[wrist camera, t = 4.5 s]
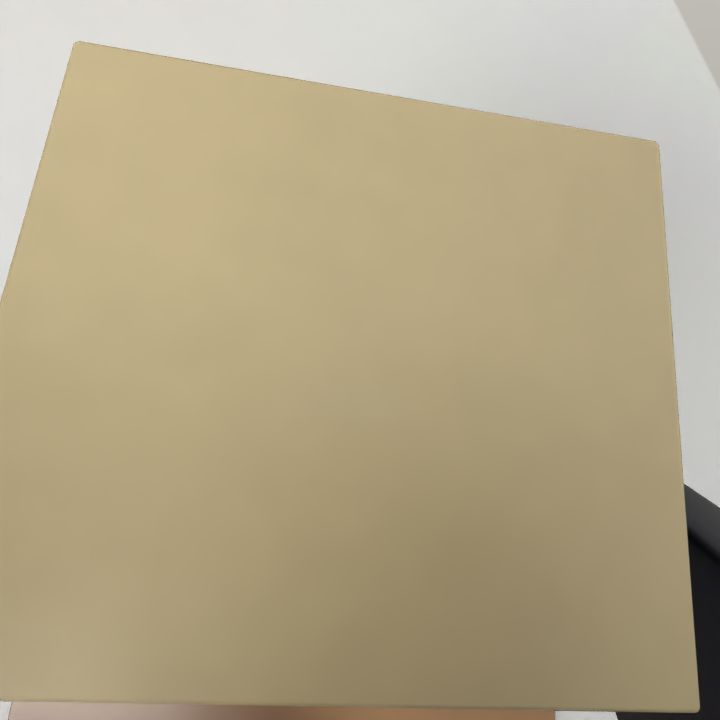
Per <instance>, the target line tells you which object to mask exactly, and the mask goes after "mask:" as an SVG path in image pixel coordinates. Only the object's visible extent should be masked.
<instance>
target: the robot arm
mask: <svg viewBox="0 0 720 720" xmlns="http://www.w3.org/2000/svg"><path fill="white" fill-rule="evenodd" d="M684 496H685V510H686V523H687V537H688V551H689V565H690V578H691V592H692V606H693V619H694V633H695V647H696V661H697V674H698V688H699V702H700V709H699V711H698V712H697V713H665V712H616V715H617V718H618V720H720V508H719V507H718V506H716V505H715V504H713V503H712V502H710V501H709V500H707V499H706V498H704V497H703V496H701V495H700V494H698V493H697V492H695V491H694V490H693V489H691V488H690V487H688V486H687V485H685V484H684Z"/></svg>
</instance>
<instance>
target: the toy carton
mask: <svg viewBox="0 0 720 720" xmlns="http://www.w3.org/2000/svg"><path fill="white" fill-rule="evenodd" d="M0 701H25V702H83V703H142V704H200V705H258V706H316V707H374V708H432V709H490V710H549V711H607V712H665V713H697V712H698V711H699V709H700V702H699V688H698V674H697V661H696V647H695V633H694V619H693V606H692V592H691V578H690V565H689V551H688V537H687V523H686V510H685V496H684V482H683V468H682V455H681V441H680V427H679V414H678V400H677V386H676V372H675V359H674V345H673V331H672V318H671V304H670V290H669V276H668V263H667V249H666V235H665V222H664V208H663V194H662V180H661V167H660V153H659V145H658V143H657V142H655V141H650V140H644V139H639V138H633V137H627V136H621V135H616V134H610V133H604V132H598V131H593V130H587V129H581V128H575V127H570V126H564V125H558V124H552V123H547V122H541V121H535V120H529V119H524V118H518V117H512V116H506V115H501V114H495V113H489V112H483V111H478V110H472V109H466V108H460V107H455V106H449V105H443V104H437V103H432V102H426V101H420V100H414V99H409V98H403V97H397V96H391V95H386V94H380V93H374V92H368V91H363V90H357V89H351V88H345V87H340V86H334V85H328V84H322V83H317V82H311V81H305V80H299V79H294V78H288V77H282V76H276V75H270V74H265V73H259V72H253V71H247V70H242V69H236V68H230V67H224V66H219V65H213V64H207V63H201V62H196V61H190V60H184V59H178V58H173V57H167V56H161V55H155V54H150V53H144V52H138V51H132V50H127V49H121V48H115V47H109V46H104V45H98V44H92V43H86V42H81V41H78V42H75V43H74V44H73V48H72V51H71V55H70V59H69V62H68V66H67V69H66V73H65V76H64V80H63V83H62V87H61V90H60V94H59V97H58V101H57V104H56V108H55V111H54V115H53V118H52V122H51V125H50V129H49V132H48V136H47V139H46V143H45V147H44V150H43V154H42V157H41V161H40V164H39V168H38V171H37V175H36V178H35V182H34V185H33V189H32V192H31V196H30V199H29V203H28V206H27V210H26V213H25V217H24V220H23V224H22V227H21V231H20V235H19V238H18V242H17V245H16V249H15V252H14V256H13V259H12V263H11V266H10V270H9V273H8V277H7V280H6V284H5V287H4V291H3V294H2V298H1V301H0Z"/></svg>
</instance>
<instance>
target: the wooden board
mask: <svg viewBox="0 0 720 720" xmlns="http://www.w3.org/2000/svg"><path fill="white" fill-rule="evenodd" d="M8 720H555V711H549V710H490V709H432V708H374V707H316V706H258V705H200V704H142V703H83V702H25V701H12V704H11V708H10V713H9V717H8Z"/></svg>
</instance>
